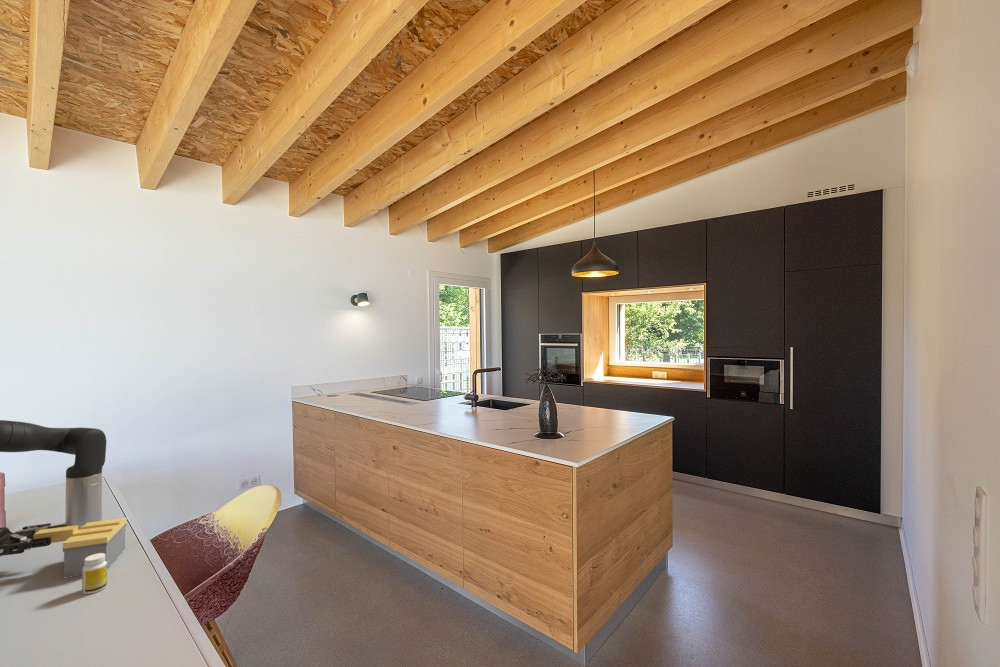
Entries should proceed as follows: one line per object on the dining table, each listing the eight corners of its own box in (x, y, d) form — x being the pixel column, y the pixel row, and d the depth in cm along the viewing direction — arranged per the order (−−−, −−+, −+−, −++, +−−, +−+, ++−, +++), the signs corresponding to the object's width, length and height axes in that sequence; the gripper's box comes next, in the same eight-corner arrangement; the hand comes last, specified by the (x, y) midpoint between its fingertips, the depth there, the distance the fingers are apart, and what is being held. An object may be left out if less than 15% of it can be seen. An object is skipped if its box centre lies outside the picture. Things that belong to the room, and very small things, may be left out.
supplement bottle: (111, 586, 117) (111, 554, 117) (89, 596, 113) (90, 562, 113) (99, 583, 119) (99, 551, 119) (77, 592, 114) (78, 559, 114)
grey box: (87, 554, 134) (87, 527, 134) (126, 548, 138) (126, 522, 138) (62, 578, 121) (62, 548, 121) (106, 571, 124) (106, 542, 124)
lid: (50, 532, 131) (51, 522, 131) (126, 522, 138) (126, 512, 138) (21, 554, 117) (21, 543, 117) (107, 542, 124) (107, 531, 124)
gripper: (-40, 542, 113) (45, 531, 119) (-3, 520, 126) (71, 512, 133) (-40, 571, 113) (44, 559, 119) (-4, 547, 126) (71, 537, 132)
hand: (58, 534), depth 126 cm, fingers open, 8 cm apart
